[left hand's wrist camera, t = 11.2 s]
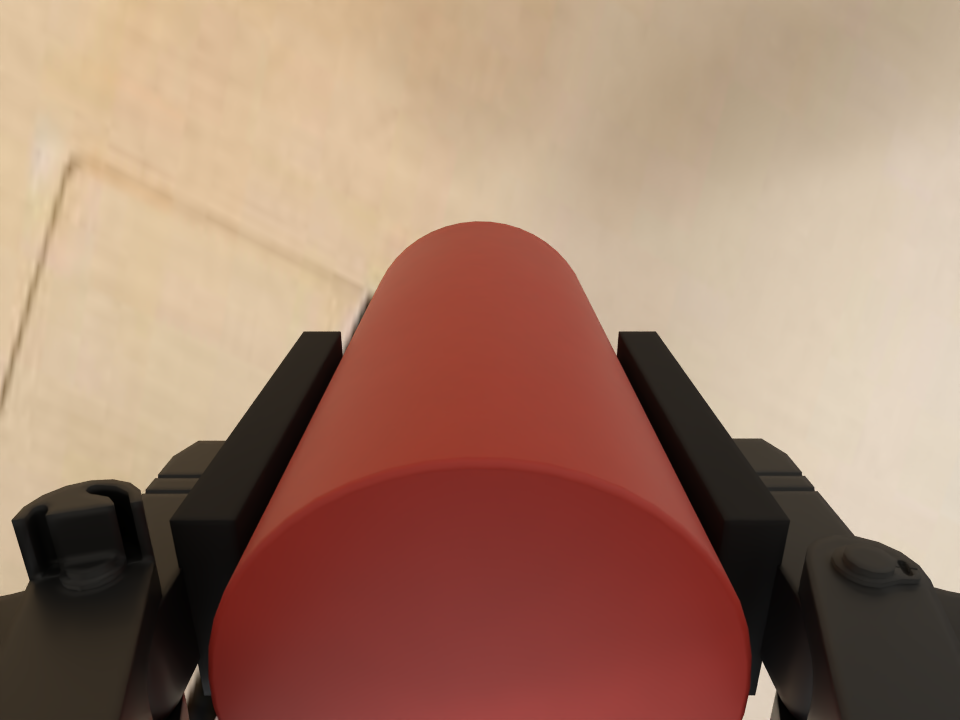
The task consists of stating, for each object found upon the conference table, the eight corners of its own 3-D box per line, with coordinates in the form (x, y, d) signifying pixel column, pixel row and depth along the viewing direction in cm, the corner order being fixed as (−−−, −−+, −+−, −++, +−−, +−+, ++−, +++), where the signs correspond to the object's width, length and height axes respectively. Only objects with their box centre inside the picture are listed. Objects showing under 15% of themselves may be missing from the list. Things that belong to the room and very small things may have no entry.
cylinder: (590, 216, 17) (788, 449, 6) (587, 422, 19) (727, 868, 8) (360, 225, 17) (148, 472, 6) (382, 430, 19) (254, 881, 8)
